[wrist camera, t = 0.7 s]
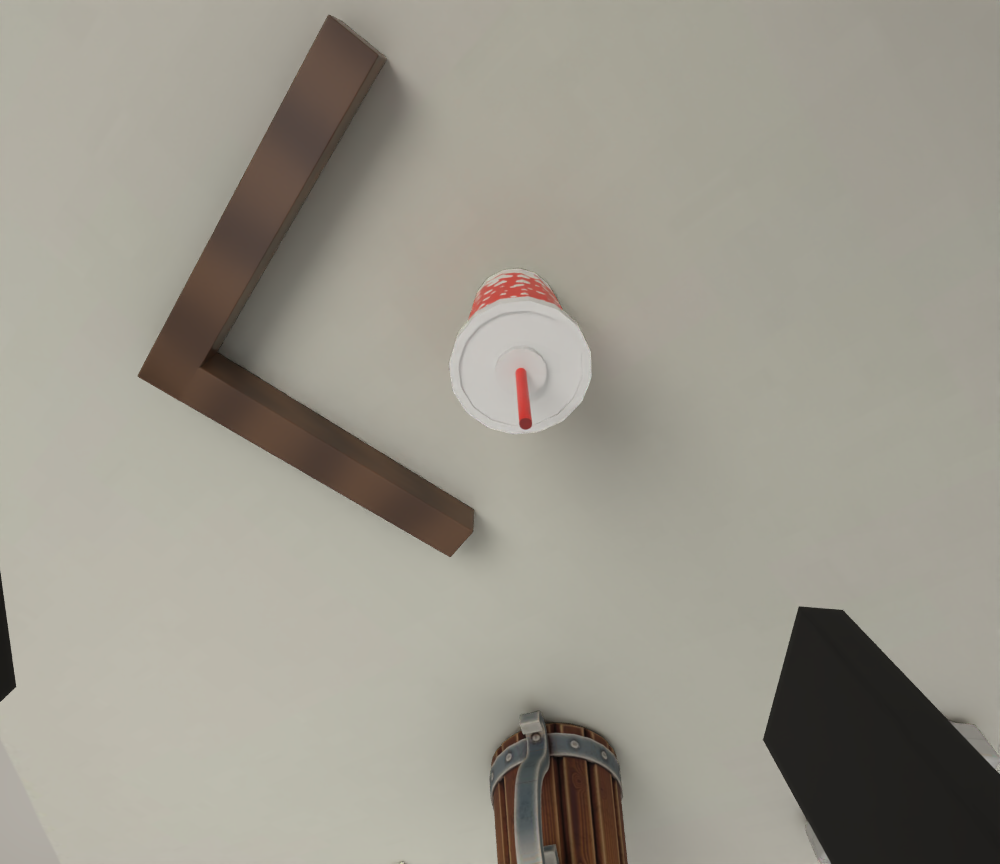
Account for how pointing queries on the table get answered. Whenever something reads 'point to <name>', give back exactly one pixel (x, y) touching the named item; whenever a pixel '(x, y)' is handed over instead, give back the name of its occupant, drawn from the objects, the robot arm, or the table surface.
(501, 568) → the table surface
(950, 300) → the table surface
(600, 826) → the mug
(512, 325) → the beverage cup
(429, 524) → the bracket
